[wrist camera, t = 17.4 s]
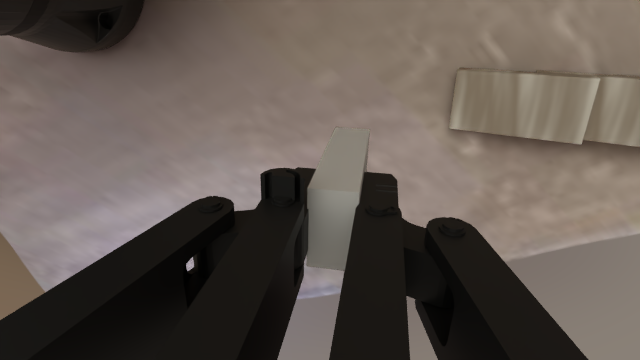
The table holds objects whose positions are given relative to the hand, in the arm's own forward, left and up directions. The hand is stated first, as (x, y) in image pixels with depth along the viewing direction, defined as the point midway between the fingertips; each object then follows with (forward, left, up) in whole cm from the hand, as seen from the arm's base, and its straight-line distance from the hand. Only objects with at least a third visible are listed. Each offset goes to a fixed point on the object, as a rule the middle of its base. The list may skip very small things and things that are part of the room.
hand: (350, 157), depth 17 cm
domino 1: (+7, 0, -19) cm, 20 cm away
